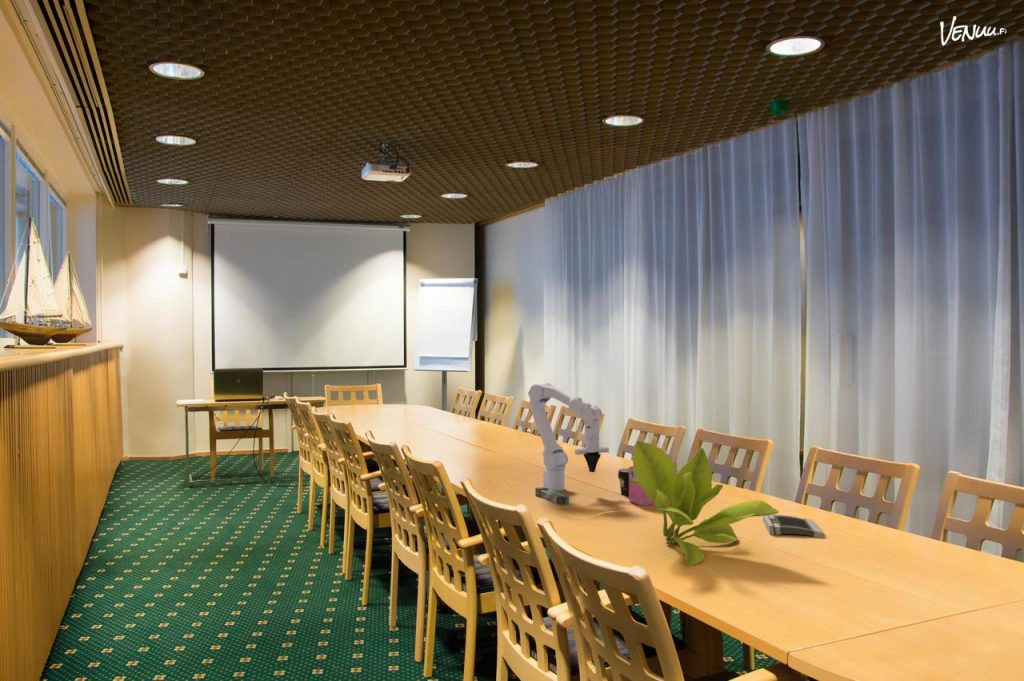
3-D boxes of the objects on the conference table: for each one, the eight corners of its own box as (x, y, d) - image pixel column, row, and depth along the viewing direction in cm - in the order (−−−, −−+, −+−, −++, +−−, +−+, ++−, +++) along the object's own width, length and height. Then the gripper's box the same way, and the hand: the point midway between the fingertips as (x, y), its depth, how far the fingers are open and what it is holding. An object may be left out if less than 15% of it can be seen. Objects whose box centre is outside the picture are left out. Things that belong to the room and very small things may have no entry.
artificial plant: (636, 590, 206) (687, 511, 192) (586, 479, 240) (627, 406, 227) (756, 598, 222) (811, 526, 208) (693, 493, 257) (737, 426, 243)
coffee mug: (642, 497, 293) (642, 472, 293) (619, 497, 293) (619, 472, 293) (637, 491, 305) (637, 467, 305) (616, 491, 305) (616, 467, 305)
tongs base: (535, 495, 295) (535, 486, 295) (545, 494, 297) (545, 485, 297) (559, 505, 278) (559, 495, 278) (569, 504, 280) (569, 494, 280)
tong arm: (546, 497, 292) (546, 490, 292) (550, 496, 292) (550, 489, 292) (564, 504, 279) (564, 497, 279) (568, 503, 280) (568, 496, 280)
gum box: (662, 493, 302) (662, 459, 302) (679, 496, 297) (679, 461, 297) (628, 503, 285) (628, 467, 285) (645, 506, 279) (645, 469, 279)
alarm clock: (762, 513, 255) (813, 511, 252) (763, 527, 255) (814, 525, 252) (769, 525, 238) (823, 524, 235) (770, 540, 238) (825, 538, 235)
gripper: (581, 439, 291) (581, 474, 291) (613, 437, 297) (613, 472, 297) (572, 437, 297) (572, 472, 297) (603, 435, 303) (603, 469, 303)
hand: (592, 471), depth 298 cm, fingers closed
